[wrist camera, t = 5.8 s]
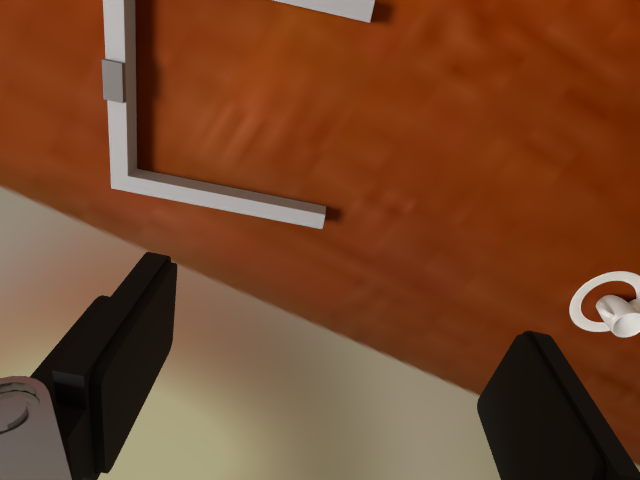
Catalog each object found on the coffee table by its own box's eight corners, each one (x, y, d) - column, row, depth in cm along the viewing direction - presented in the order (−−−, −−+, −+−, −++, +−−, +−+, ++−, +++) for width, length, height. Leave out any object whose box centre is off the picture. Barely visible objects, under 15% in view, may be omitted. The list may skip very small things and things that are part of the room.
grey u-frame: (113, -61, 30) (95, -67, 28) (372, 0, 32) (375, -1, 29) (121, 180, 39) (108, 190, 37) (322, 219, 41) (322, 232, 38)
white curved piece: (664, 303, 45) (692, 328, 41) (595, 343, 48) (617, 370, 44) (622, 255, 42) (649, 277, 38) (552, 300, 45) (571, 325, 41)
